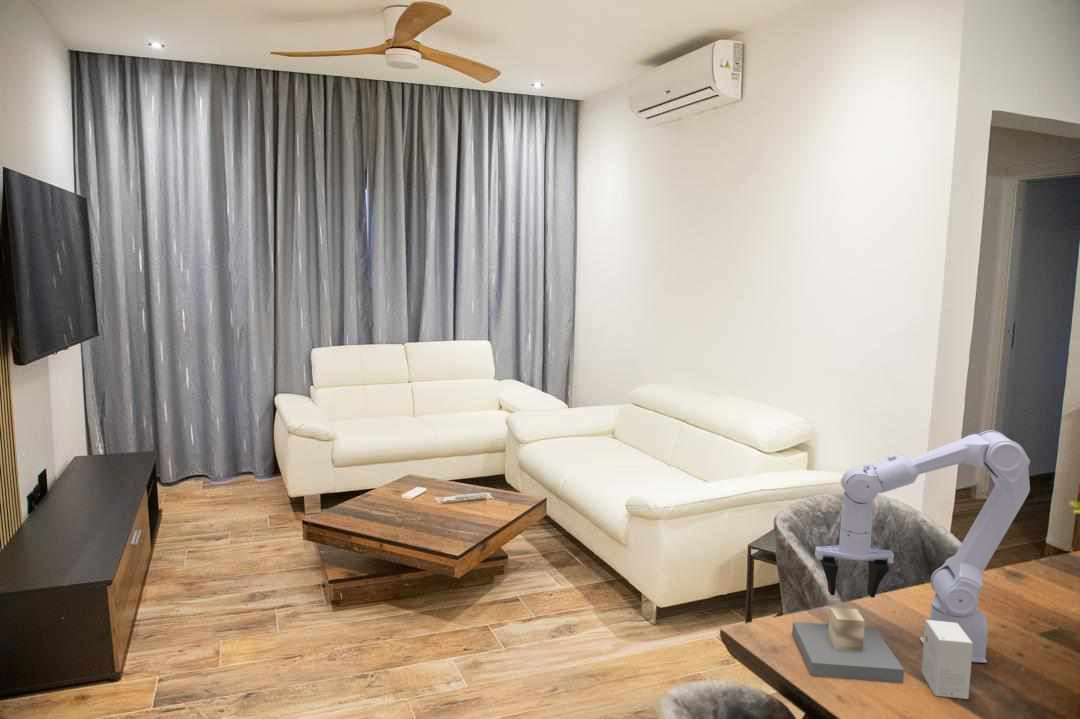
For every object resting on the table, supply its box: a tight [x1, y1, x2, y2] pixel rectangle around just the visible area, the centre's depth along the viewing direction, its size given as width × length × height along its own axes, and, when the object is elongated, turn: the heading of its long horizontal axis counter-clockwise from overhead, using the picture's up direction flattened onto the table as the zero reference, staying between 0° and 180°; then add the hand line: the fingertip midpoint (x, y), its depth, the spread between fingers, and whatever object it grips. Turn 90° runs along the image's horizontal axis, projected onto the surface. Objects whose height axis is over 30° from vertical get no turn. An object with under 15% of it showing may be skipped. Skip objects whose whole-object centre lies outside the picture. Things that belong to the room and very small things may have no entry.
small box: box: [920, 619, 973, 700], centre depth 134 cm, size 8×6×10 cm
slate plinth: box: [791, 621, 905, 684], centre depth 144 cm, size 16×16×2 cm
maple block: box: [828, 606, 866, 651], centre depth 143 cm, size 5×5×6 cm
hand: (851, 594), depth 150 cm, fingers open, 7 cm apart
